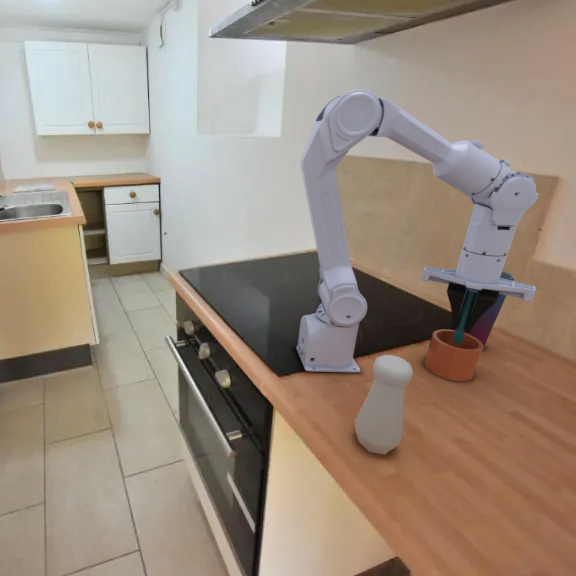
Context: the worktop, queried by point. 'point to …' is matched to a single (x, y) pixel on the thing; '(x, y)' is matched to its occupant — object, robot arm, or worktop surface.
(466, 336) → the orange round pot
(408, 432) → the worktop surface
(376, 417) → the salt shaker
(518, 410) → the worktop surface
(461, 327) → the straw
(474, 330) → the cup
